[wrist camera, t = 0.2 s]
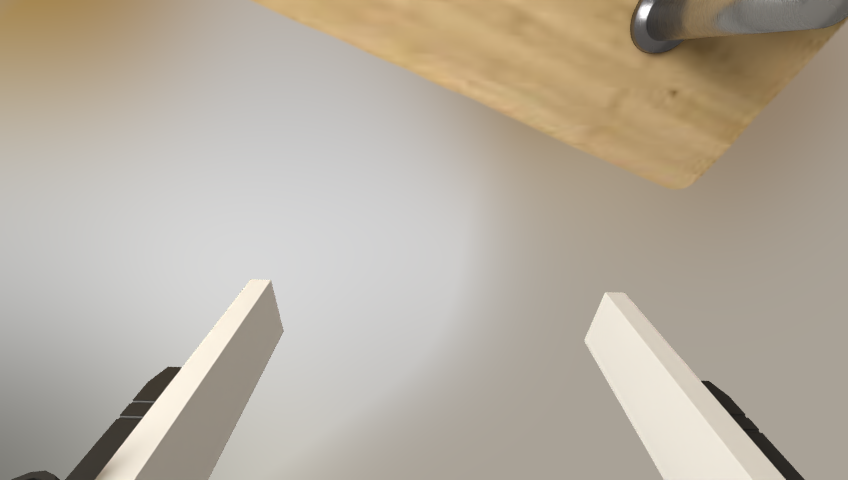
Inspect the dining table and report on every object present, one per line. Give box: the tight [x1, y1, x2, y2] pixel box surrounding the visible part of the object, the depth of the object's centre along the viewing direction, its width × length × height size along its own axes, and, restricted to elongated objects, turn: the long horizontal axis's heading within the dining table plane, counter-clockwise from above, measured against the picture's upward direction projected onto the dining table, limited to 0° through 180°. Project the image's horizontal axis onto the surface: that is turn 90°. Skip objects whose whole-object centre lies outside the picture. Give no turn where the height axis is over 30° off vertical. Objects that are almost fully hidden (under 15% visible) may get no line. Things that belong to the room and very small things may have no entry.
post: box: [630, 0, 848, 53], centre depth 24 cm, size 6×6×15 cm
